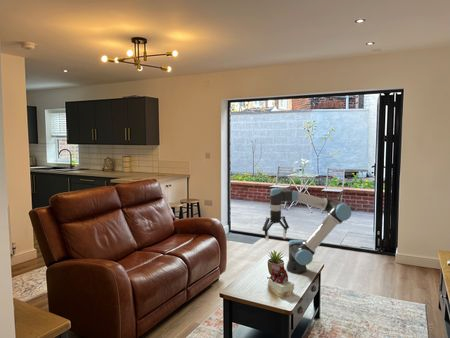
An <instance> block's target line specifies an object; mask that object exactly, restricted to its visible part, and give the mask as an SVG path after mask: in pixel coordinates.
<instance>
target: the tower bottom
mask: <svg viewBox="0 0 450 338" xmlns="http://www.w3.org/2000/svg"><path fill="white" fill-rule="evenodd" d="M267 289H268V291H270V292H271V293H272V294H274V295H275V296H276V297H277V298H279V299H281V298H286V297H291V296H293V295H294V293H293V292H294V290H291V291H287V292H284V293H280V292H279V291H277V290H276V289H274V288H273V287H271V286H270V285H269V283H268V288H267Z"/></svg>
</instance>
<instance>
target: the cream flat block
mask: <svg viewBox="0 0 450 338" xmlns="http://www.w3.org/2000/svg"><path fill="white" fill-rule="evenodd" d="M268 284H269V285H270V286H271V287H273V288H274V289H276V290H277V291H279V292H280V293H284V292H287V291H291V290H293V291H294V290H295V283H294V282H292V281H290V280H288V281H287V282H285V281H283V283H281V284H279V283H278V282H277V280H276V281H272V280H271V278H268Z"/></svg>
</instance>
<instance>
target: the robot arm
mask: <svg viewBox="0 0 450 338" xmlns="http://www.w3.org/2000/svg"><path fill="white" fill-rule="evenodd" d="M269 196H270V198H269V201H270V203H269V204H270V206H269V207H270V208H269V209H270V211H269V212H270V217H268V216H266V218H265V222H264V225H263V226H262V229H261V231H263V232H264V237H265V240H266V241H267V242H269V230H270V228H271V227H272V226H273V225H274V224H278V223H279V225H280V226H282V227H281V228H282V239H284V240H286V235H287V231H288V229H290V226H289V225H288V222H287V220H286V216H285V215H282V203H283V202H297V203H301V204H302V205H303V204H304V205H308V206H311V207H315V208H319V209H321V211H325V212H327V213H326V218H324V220H323V221H322V222H321V223H320V224H319V225H318V226H317V228H316V229H315V230H314V231H313V232H312V233H311V235H310V236H309V237H308V238H307V240H306V241H305V240H303V239H290V240H289V241H288V261H287V264H286V268H285V270H286V272H289V273H292V274H304V273H307V270H308V268H307V266H308V265H309V264H310V263H312V261H313V260H314V259H313V258H314V257H313V256H315V254H316V250H317V248H318V247H319V246H320V245H321V244H322V242H323V241H325V239H326V238H327V237H328V236H329V235H330V233H331V232H332V231H333V230H334V229H335V227H336V226H337V225H341V224H342V223H343V222H344V221H347V220H349V219H350V218H351V216H352V209H351V208H352V207H350V205H348V204H347V203H345V202H343V201H341V200H338V199H333V198H328V197H324V198H322V197H318V196H314V195H312V194H307V193H304V192H302V191H297V190H294V189H290V188H288V187H281V188H279V187H274V188H271V189H270V194H269ZM281 220H282V221H281Z"/></svg>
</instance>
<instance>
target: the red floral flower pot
mask: <svg viewBox="0 0 450 338" xmlns="http://www.w3.org/2000/svg"><path fill="white" fill-rule="evenodd" d="M270 279H271V280H272V281H276V280H277V282H278V283H279V284H281V283H283V281H285V282H287V281H289V275H288V271H287V269H286V268H285V266H281V265H278V264H275V263H271V275H270Z"/></svg>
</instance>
